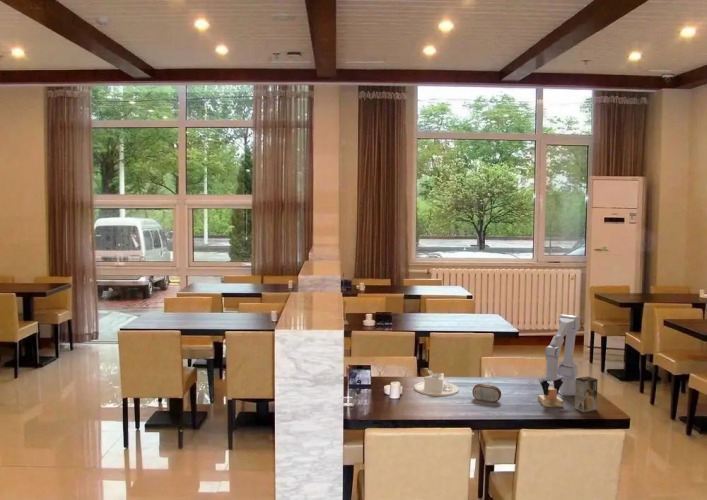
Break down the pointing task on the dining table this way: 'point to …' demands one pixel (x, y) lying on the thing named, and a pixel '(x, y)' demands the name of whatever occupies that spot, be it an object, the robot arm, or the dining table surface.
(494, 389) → the tin
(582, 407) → the coffee box
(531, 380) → the dining table surface
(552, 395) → the block
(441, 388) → the dish
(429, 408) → the dining table surface
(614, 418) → the dining table surface
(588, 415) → the dining table surface
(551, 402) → the riser
